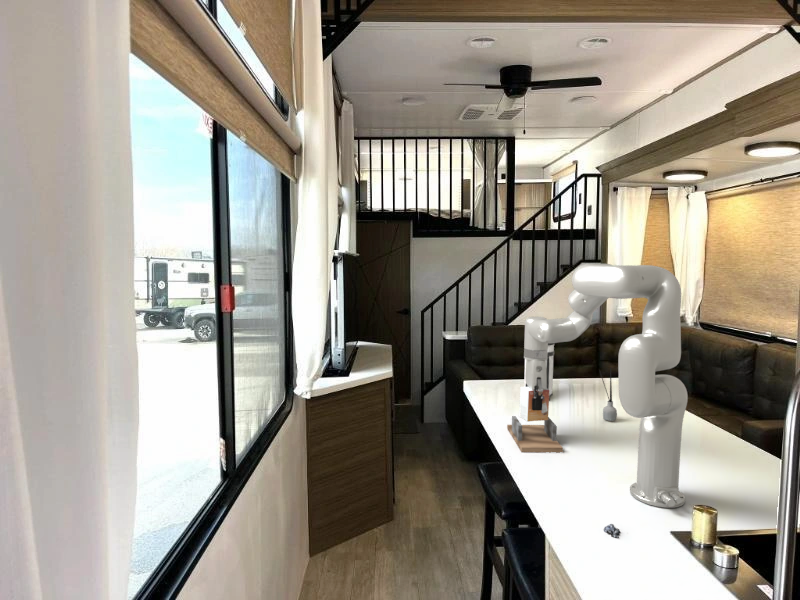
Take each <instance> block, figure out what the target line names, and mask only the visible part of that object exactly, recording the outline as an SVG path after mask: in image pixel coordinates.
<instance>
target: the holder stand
mask: <svg viewBox="0 0 800 600" xmlns="http://www.w3.org/2000/svg"><path fill="white" fill-rule="evenodd" d="M543 421H544V423H543V424H522V423H521V422H520V420H519V419H518V418H517V416H514V415H513V416H512V417H511V424H507V425H506V428H507V431H508V432H509V434H510V436H511V438H512V439H513V440H514V442H515V444H516V446H517V447H518V449H519V452H521V453H546V452H549V453H551V452H556V454H557V453H560V452H563V453H564V451H563V450H564V448H563V446H562V445H561V444H560V442H558V440H557V435H558V434H557V430H558V429H557V428H558V427H557V424H556V423H554V422H553V420H552V419H551V418H550V417H549V416H548V420H543Z"/></svg>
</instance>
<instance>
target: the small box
mask: <svg viewBox="0 0 800 600" xmlns="http://www.w3.org/2000/svg"><path fill="white" fill-rule="evenodd" d="M535 389H538V387H535ZM536 392H538V391H535V394H536ZM542 394H543V395H542V396H543V398H542V410H532V398H533V390H532V389H531V388H530V387H524V386H520V390H519V414H518V417H519V418H521V419H523V420H524V421H526V422H537V421H538V422H539V421H544V420H548V417H549V410H550V409H549V408H550V407H549V406H550V401H549V397H550V396H549V389H546V390H543V393H542Z"/></svg>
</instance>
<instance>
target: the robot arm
mask: <svg viewBox="0 0 800 600" xmlns="http://www.w3.org/2000/svg"><path fill="white" fill-rule="evenodd" d="M571 284H572V288H573V290H572V291H571V292H570V293H569V295H568V298H567V301H568V304H569V306H570V308H571V309H572V310H573V311H572V312H571V313H570V314H569V315H568V316H567V317H565V318H564V317H563V318H551V319H547V318H546V317H544V316H528V317H526V319H525V322H524V340H523V341H524V343H523V344H524V345H523V346H524V347H523V348H524V349H523V351H524V352H523V359H524V360H525V359H527V360H526V374H525V373H524V376H525V380H526V384H527V387H530V388H531V389H532V390H533V398H532V410H542V398H543V396H542V395H543V394H542V393H543V390H546V389H547V374H546V361H545V360H547V354H548V343H555V344H557V343H564V342H566V343H567V342H571V341H574V340H576V339H577V338H579V337H580V336H582V334H583V333H584V332H585V331H586V330H588V328H589V327H590V326H591V324H592V320H593V315H594V314H593V313H594V312H595V311H596V310H598V308H599V307H601V306H602V305H603V304H604V303H605V302H606V301H608V299H616V300H617V299H619V300H626V299H643V298H644V299H647V302H646V305H645V306H644V309H643V312H642V319H641V320H642V330H641V331H642V332H641V333H639V334H638V333H637V334H634V335H630V336H629V337H627V338H626V339H624V340H623V342H622V344H621V345H620V348H619V351H618V367H617V369H618V397H619V402H620V406H621V407H622V409H623V410H624V411H625V412H626V414H628V415H629V416H631V417H633V418H636V419H640V422H639V428H638V431H639V432H638V448H637V449H638V450H637V466H636V467H637V470H636V482H634V483H632V484H631V485H629V493H630V495H631V496H632V497H633V498H634V499H636V500H637V501H639V502H641V503H644V504H647V505H649V506H654V507H658V508H668V509H671V508H679V507H682V506H683V505H684V504H685V502H686V497H685V495H684V494H683V493H682V492H681V491H680V490H679V489H680V488H679V485H680V484H679V483H680V465H681V464H680V462H681V447H682V446H681V444H682V443H681V442H682V433H683V422H684V417H685V413H686V410H687V406H688V399H689V398H688V391H687V388H686V386H685V384H684V383H683V382H682V380H681V379H679V378H678V377H676V376H674V375H670V374H656V372H660V371H666V370H670V369H673V368H675V367H677V365H678V364H679V363H680V361H681V356H682V340H681V339H682V338H681V336H682V334H681V332H682V330H681V329H682V328H681V323H682V322H681V309H682V308H681V307H682V306H681V305H682V288H681V284H680V282H679V280H678V279H677V277H676V276H675V274H673V272H671V271H670V270H668V269H666V268H664V267H662V266H661V267H660V266H656V265H652V264H651V265H648V264H640V265H639V264H637V265H636V264H634V265H629V264H628V265H624V264H623V265H622V264H621V265H619V264H618V265H616V264H614V265H613V264H611V263H610V264H609V263H584V264H582V265H580V266H579V267H577V268H576V269H575V271H574V272H573V274H572V277H571ZM535 387H538V389H535ZM535 391H538V392H536V394H535Z"/></svg>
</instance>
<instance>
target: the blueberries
mask: <svg viewBox="0 0 800 600" xmlns="http://www.w3.org/2000/svg"><path fill="white" fill-rule="evenodd" d="M603 532H604V533H606V535H609V536H610V537H611V538H613V539H618V540H619V539H620V537H619V536H620V535H621V531H620V529H619V528H616V527H615V525H614V524H613V523H610V524H608V525H606V526H604V528H603Z"/></svg>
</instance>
